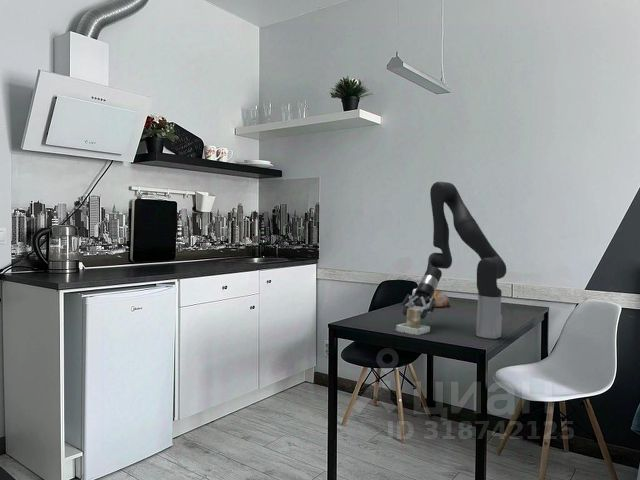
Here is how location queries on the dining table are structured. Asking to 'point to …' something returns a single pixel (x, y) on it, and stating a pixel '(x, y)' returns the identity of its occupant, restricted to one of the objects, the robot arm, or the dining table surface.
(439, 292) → the bread
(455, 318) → the dining table surface
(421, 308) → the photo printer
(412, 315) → the birch block
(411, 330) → the tray
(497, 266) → the robot arm
